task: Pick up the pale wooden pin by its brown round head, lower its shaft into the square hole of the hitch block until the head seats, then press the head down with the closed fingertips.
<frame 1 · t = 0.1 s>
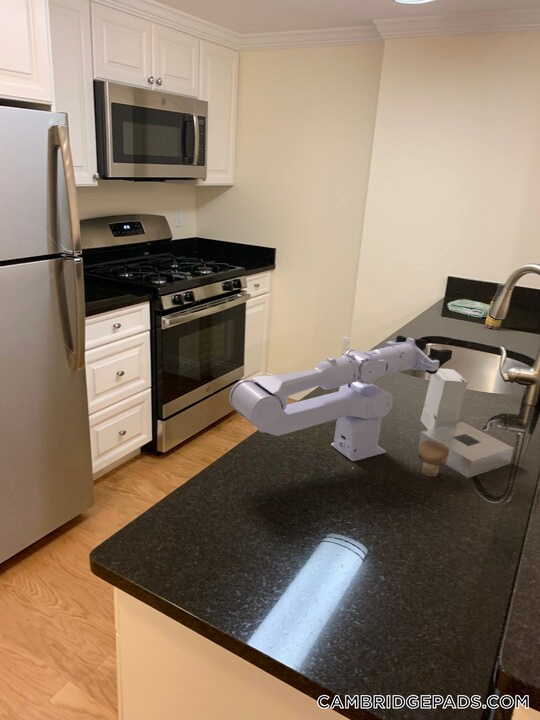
hand: (437, 349, 121), 22 cm above the countertop, tool horizontal, fingers open, 7 cm apart
skincare box: (437, 430, 131), on the countertop
towel: (474, 313, 264), on the countertop
pin: (429, 472, 111), on the countertop
hitch block: (463, 455, 119), on the countertop
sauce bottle: (492, 328, 235), on the countertop
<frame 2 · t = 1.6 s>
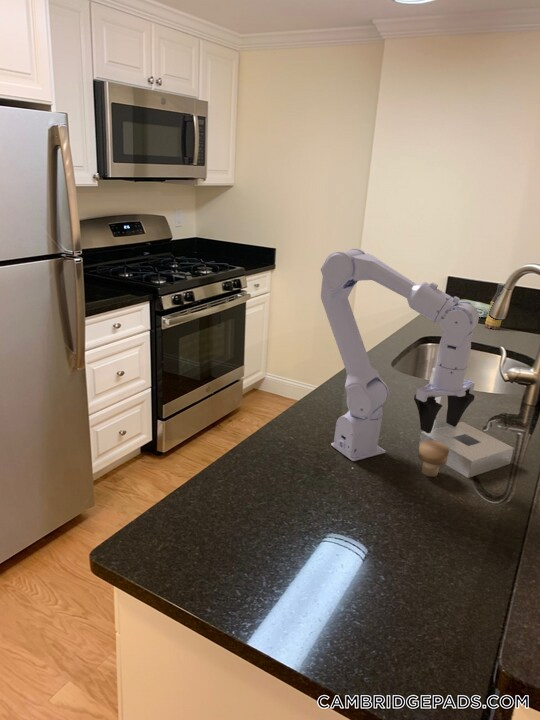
hand: (438, 427, 108), 10 cm above the countertop, tool pointing down, fingers open, 7 cm apart
nothing on the countertop moved.
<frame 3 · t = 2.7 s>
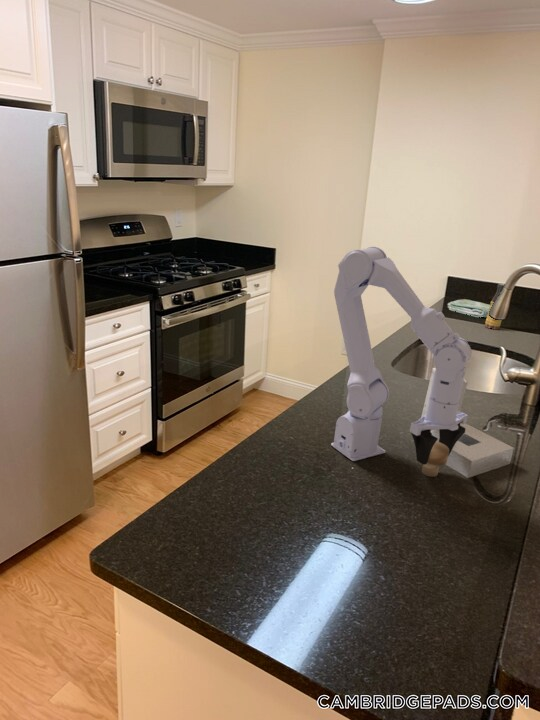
hand: (432, 459, 110), 3 cm above the countertop, tool pointing down, fingers closed on pin, 6 cm apart
pin: (429, 472, 111), on the countertop, touching gripper
everything else where it was.
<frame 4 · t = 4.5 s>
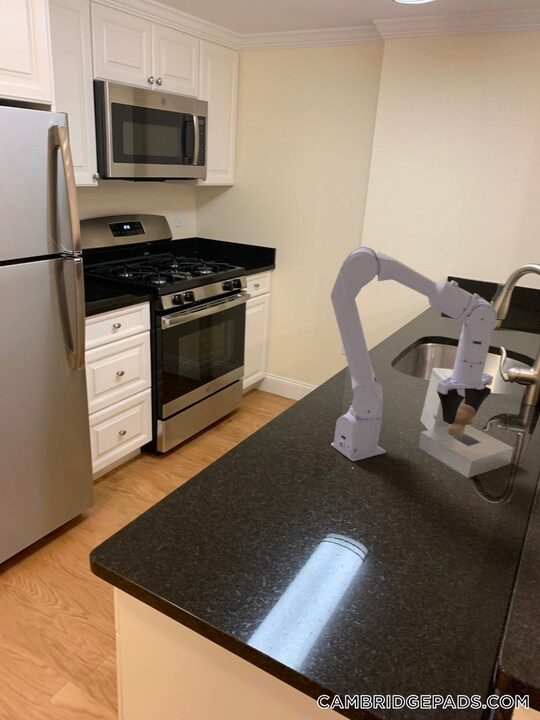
hand: (458, 419, 112), 10 cm above the countertop, tool pointing down, fingers closed on pin, 6 cm apart
pin: (455, 433, 113), point 7 cm above the countertop, touching gripper
everything else where it was.
when the fingers open (6 cm above the countertop, at t = 6.6 s): pin drops 2 cm, resting on hitch block.
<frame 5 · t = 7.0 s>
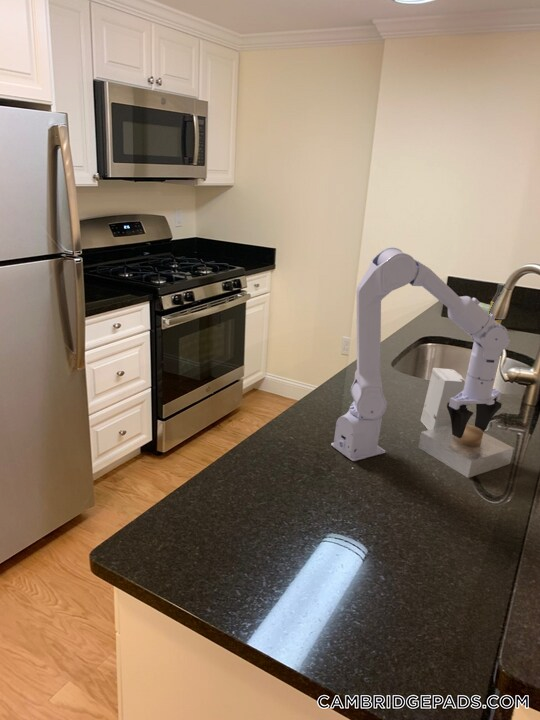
hand: (468, 432, 117), 6 cm above the countertop, tool pointing down, fingers open, 7 cm apart
pin: (464, 453, 119), resting on hitch block
everything else where it was.
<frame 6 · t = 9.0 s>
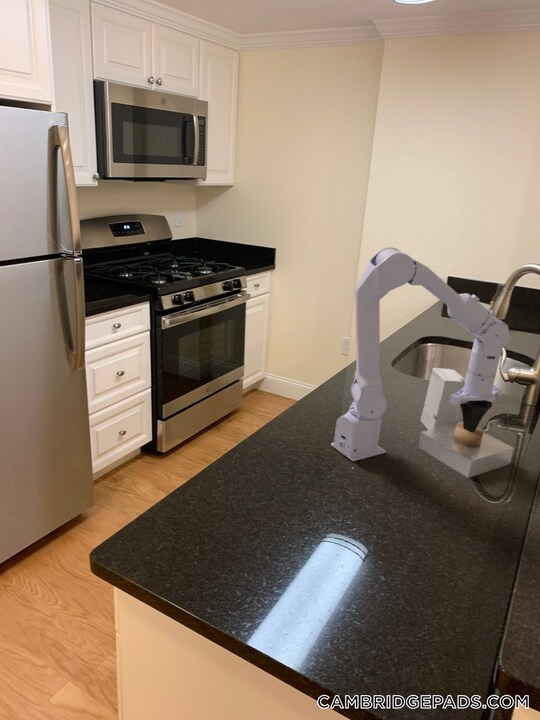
hand: (469, 429, 117), 6 cm above the countertop, tool pointing down, fingers closed, pressing on pin
pin: (464, 453, 119), resting on hitch block, touching gripper
everything else where it was.
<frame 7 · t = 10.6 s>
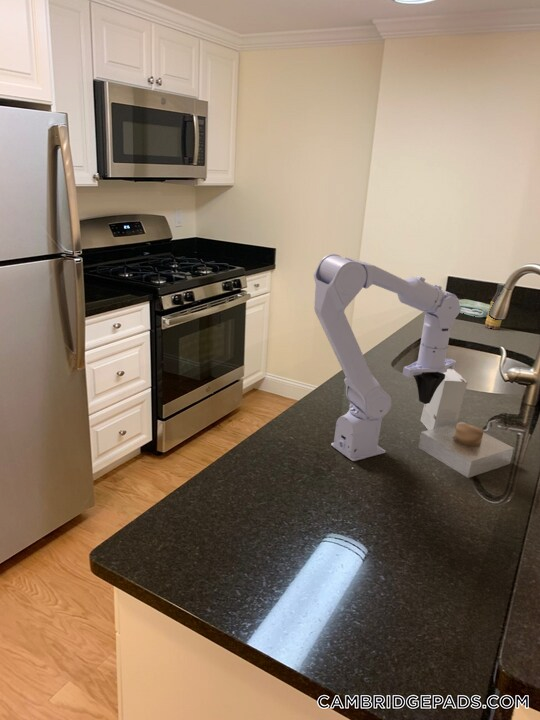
hand: (424, 401, 120), 10 cm above the countertop, tool pointing down, fingers closed
pin: (464, 453, 119), resting on hitch block
everything else where it was.
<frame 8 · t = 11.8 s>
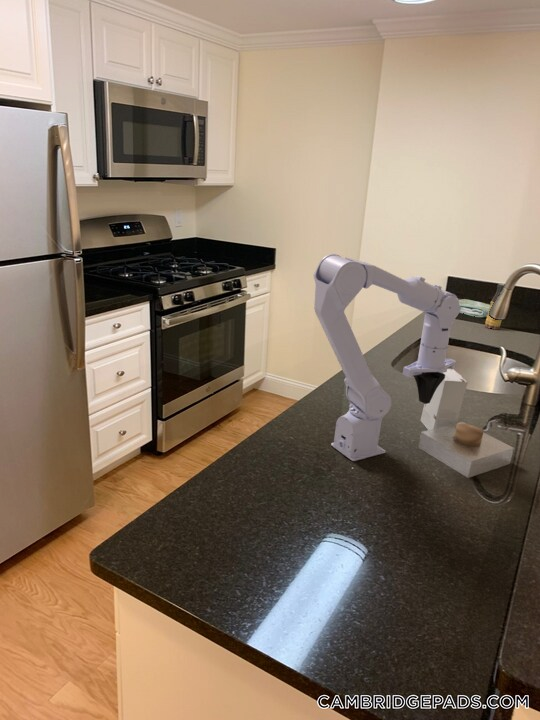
hand: (424, 401, 120), 10 cm above the countertop, tool pointing down, fingers closed
nothing on the countertop moved.
at the end: pin 0.1 cm off-centre on the hitch block, point 0.5 cm above the hitch block's base; pin tilted 0°; the gripper is holding nothing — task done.
